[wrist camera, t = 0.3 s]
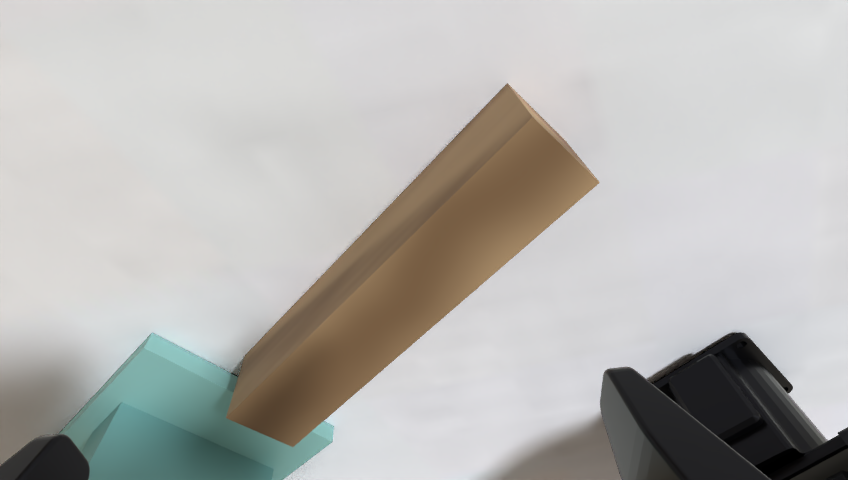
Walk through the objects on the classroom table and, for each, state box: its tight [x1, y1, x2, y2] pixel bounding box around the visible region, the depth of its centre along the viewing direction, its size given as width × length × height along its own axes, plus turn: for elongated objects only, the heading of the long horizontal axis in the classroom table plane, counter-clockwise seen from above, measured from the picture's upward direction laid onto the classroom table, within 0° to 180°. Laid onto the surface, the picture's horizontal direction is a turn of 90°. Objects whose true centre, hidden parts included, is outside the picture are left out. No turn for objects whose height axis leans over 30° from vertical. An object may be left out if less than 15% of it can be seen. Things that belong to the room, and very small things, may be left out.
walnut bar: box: [226, 83, 600, 447], centre depth 21 cm, size 4×18×4 cm, turn 138°
